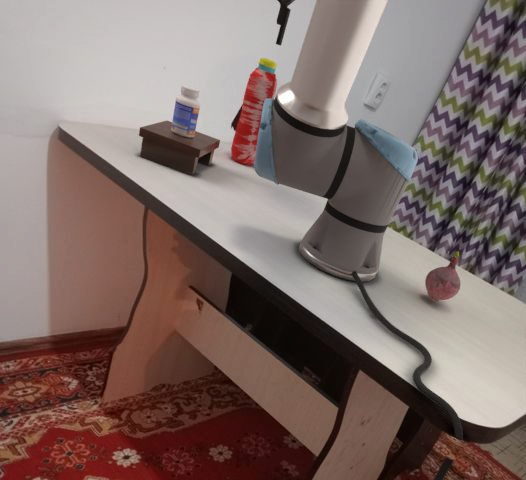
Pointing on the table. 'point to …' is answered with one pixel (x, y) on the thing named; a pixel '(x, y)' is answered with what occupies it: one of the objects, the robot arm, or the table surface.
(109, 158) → the table surface
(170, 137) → the stand
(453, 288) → the vegetable
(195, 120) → the pill bottle
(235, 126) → the water bottle
